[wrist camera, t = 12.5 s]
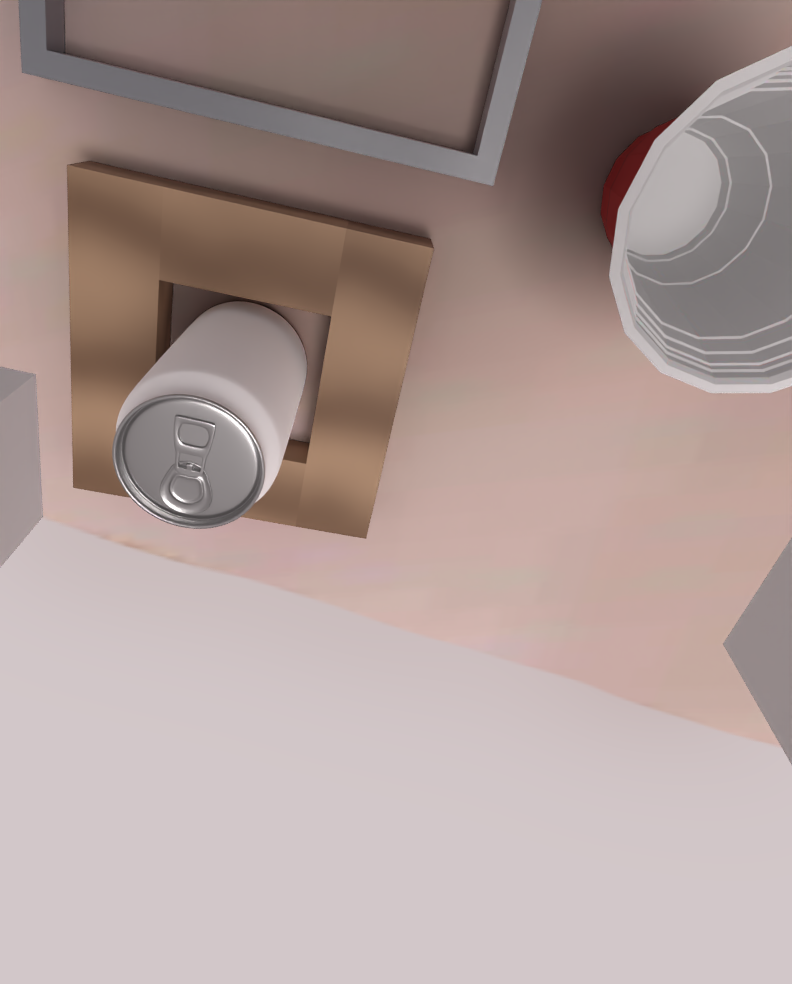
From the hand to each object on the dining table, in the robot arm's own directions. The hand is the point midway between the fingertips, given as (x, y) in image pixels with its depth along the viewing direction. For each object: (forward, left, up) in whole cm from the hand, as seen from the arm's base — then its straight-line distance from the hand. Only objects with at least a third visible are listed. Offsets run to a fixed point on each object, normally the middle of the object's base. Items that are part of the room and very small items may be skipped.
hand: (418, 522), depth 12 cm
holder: (+7, -7, -24) cm, 26 cm away
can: (+7, -7, -25) cm, 26 cm away
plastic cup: (-5, +11, -25) cm, 28 cm away
